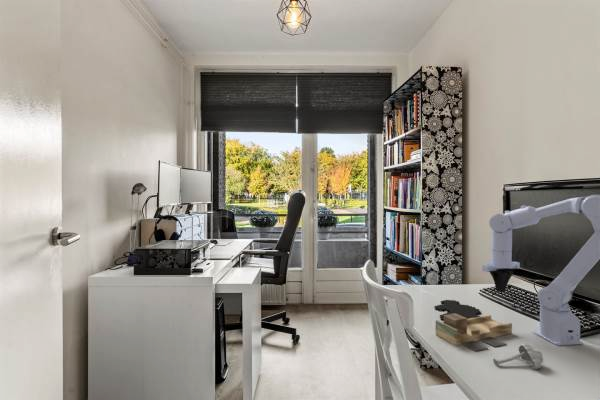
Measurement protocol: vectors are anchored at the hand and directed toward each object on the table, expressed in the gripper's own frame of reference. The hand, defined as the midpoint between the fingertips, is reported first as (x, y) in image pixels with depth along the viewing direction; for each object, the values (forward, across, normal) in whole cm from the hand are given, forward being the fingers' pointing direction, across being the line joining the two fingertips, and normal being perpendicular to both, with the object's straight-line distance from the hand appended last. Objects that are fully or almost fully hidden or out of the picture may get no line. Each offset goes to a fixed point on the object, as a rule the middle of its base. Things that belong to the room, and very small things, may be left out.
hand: (500, 291), depth 115 cm
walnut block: (+9, +22, +4) cm, 24 cm away
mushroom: (+11, +20, +22) cm, 31 cm away
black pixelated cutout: (+11, +7, -10) cm, 16 cm away
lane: (+10, +15, +6) cm, 19 cm away
